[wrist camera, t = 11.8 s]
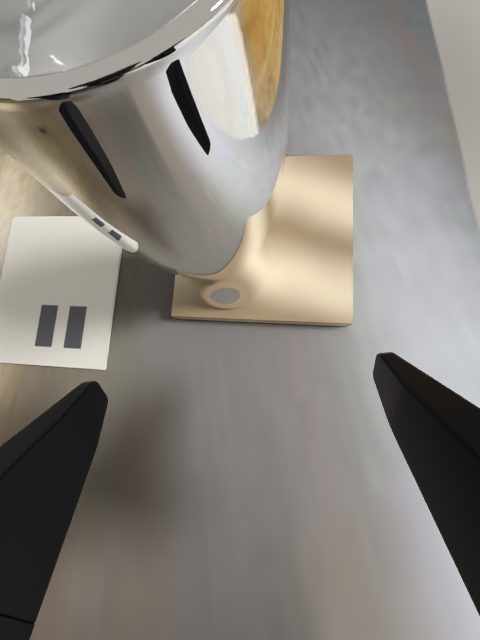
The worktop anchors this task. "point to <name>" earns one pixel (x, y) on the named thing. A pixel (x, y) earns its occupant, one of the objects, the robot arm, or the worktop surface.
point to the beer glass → (156, 126)
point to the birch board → (299, 252)
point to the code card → (57, 293)
